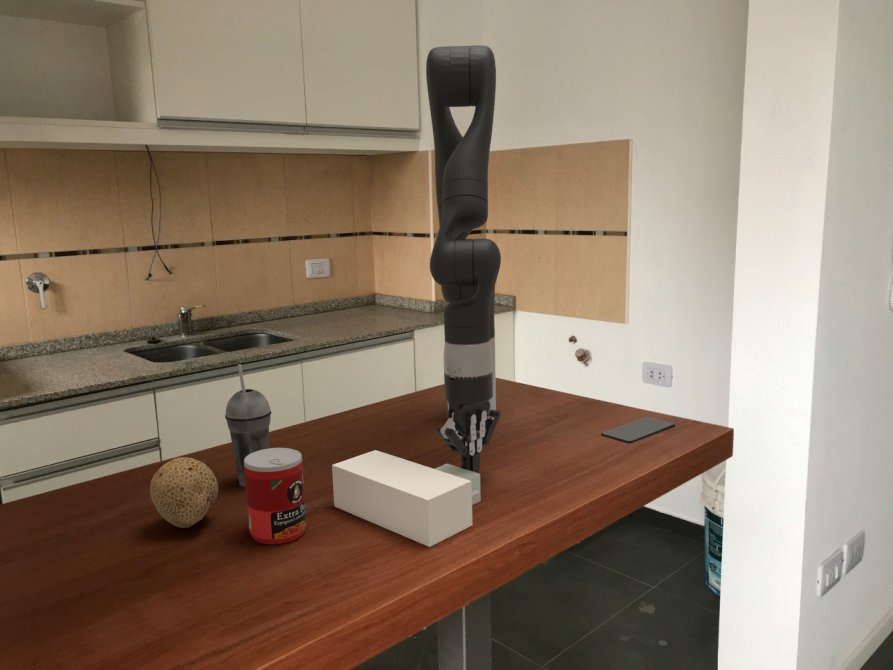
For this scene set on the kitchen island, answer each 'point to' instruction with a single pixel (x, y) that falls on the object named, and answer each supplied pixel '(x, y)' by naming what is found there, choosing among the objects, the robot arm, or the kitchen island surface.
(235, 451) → the beverage cup
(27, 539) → the kitchen island surface
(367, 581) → the kitchen island surface
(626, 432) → the smartphone
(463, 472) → the sage green bar
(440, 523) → the cream rectangular prism
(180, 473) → the natural sponge
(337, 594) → the kitchen island surface
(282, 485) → the canned food
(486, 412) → the robot arm
